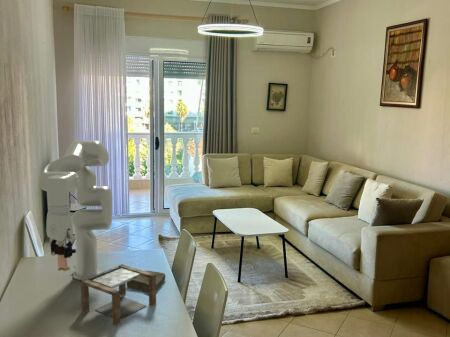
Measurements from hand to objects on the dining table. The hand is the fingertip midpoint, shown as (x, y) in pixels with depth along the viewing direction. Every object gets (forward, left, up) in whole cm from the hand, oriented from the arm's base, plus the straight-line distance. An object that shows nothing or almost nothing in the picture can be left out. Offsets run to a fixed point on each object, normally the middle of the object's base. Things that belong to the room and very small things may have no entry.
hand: (61, 254), depth 161 cm
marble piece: (+6, +37, -24) cm, 45 cm away
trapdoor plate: (+11, +15, -13) cm, 23 cm away
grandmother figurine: (0, 0, -6) cm, 6 cm away
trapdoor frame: (+13, +15, -24) cm, 31 cm away
